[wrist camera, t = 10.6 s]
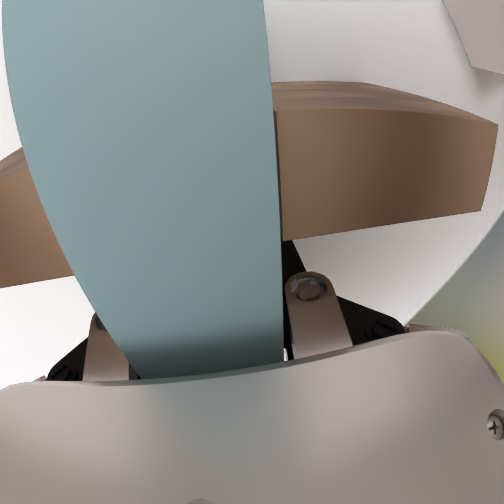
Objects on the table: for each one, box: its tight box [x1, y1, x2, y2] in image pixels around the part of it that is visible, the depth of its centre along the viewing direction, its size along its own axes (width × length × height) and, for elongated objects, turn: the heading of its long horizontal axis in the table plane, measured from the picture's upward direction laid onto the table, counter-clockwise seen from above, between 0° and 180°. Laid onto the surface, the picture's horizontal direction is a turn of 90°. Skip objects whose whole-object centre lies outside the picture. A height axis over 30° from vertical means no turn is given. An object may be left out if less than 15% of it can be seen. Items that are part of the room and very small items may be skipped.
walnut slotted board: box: [0, 81, 498, 288], centre depth 9 cm, size 18×3×9 cm, turn 97°
